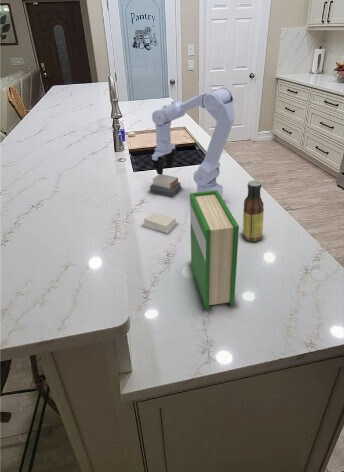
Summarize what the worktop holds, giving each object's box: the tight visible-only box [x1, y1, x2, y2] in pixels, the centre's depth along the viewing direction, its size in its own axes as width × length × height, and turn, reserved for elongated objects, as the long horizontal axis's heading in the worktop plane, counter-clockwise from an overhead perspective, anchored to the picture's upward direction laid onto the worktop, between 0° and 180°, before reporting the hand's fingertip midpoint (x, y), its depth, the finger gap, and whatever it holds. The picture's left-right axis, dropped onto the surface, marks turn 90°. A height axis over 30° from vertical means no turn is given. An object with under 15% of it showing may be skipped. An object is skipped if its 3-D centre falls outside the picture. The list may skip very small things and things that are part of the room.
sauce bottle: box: [242, 180, 265, 242], centre depth 104 cm, size 6×6×20 cm
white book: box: [152, 173, 179, 189], centre depth 138 cm, size 9×6×3 cm, turn 60°
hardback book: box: [189, 190, 240, 311], centre depth 85 cm, size 18×7×24 cm, turn 9°
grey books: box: [149, 181, 183, 198], centre depth 140 cm, size 11×8×3 cm
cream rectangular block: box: [143, 211, 177, 234], centre depth 116 cm, size 10×6×3 cm, turn 60°
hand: (164, 170), depth 136 cm, fingers open, 7 cm apart
